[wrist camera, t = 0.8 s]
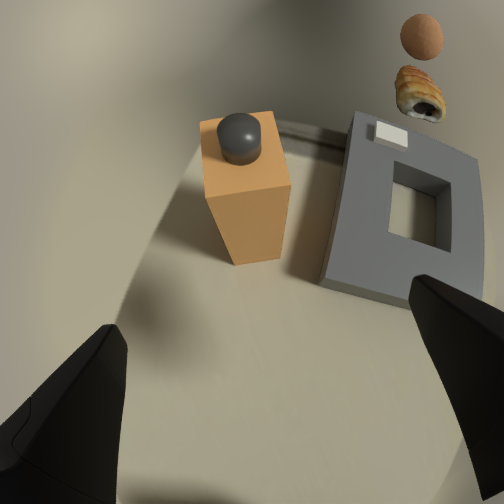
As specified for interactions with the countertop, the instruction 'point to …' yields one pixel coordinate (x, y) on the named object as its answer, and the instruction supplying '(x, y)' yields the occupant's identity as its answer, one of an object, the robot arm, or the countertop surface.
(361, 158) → the socket
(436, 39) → the egg
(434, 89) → the pastry
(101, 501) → the robot arm
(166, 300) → the countertop surface
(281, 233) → the plug
